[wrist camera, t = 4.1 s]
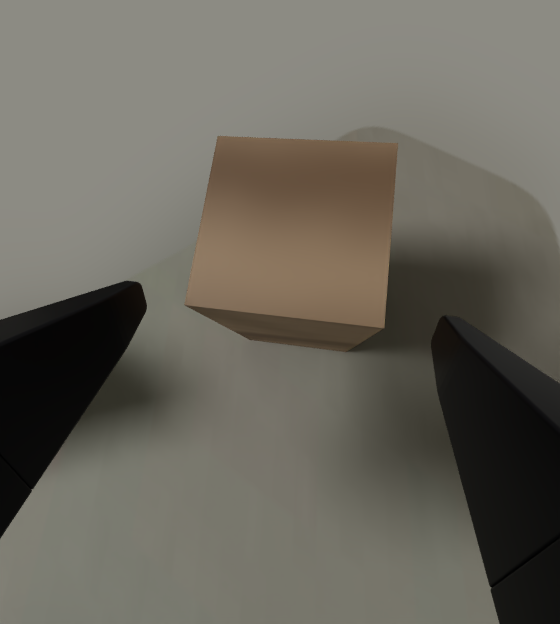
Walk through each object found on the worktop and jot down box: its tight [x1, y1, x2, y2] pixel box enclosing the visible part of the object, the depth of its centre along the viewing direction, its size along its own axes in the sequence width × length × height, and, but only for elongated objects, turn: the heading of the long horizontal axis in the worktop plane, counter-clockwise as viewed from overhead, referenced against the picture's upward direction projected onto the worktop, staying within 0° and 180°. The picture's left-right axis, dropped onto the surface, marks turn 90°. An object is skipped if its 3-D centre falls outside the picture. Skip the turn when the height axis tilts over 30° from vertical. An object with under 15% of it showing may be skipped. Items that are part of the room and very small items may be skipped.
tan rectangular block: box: [184, 136, 398, 352], centre depth 14 cm, size 6×6×10 cm
